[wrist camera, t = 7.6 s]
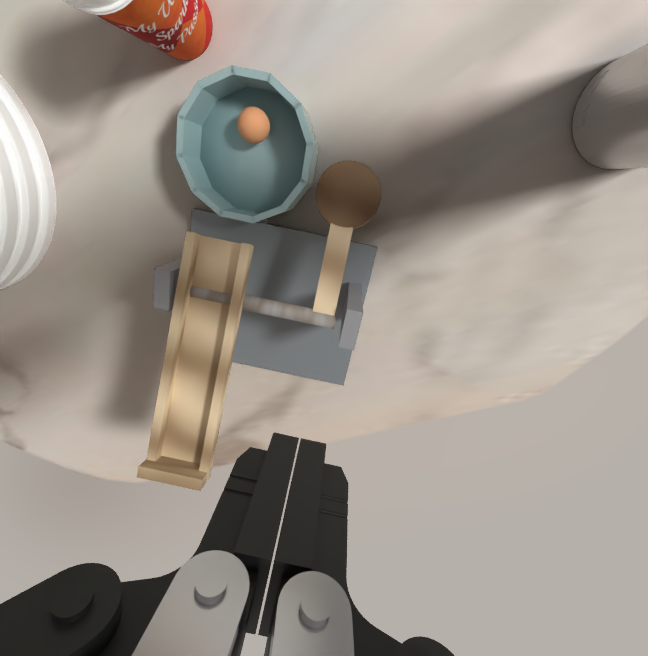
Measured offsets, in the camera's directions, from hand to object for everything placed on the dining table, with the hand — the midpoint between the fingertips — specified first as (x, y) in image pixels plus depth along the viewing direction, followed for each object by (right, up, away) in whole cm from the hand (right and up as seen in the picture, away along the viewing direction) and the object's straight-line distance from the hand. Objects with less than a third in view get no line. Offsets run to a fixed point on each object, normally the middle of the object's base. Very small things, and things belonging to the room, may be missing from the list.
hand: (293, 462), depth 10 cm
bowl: (-6, +21, +26) cm, 34 cm away
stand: (-5, +7, +32) cm, 33 cm away
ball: (-6, +23, +23) cm, 33 cm away
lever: (-4, +4, +23) cm, 24 cm away
